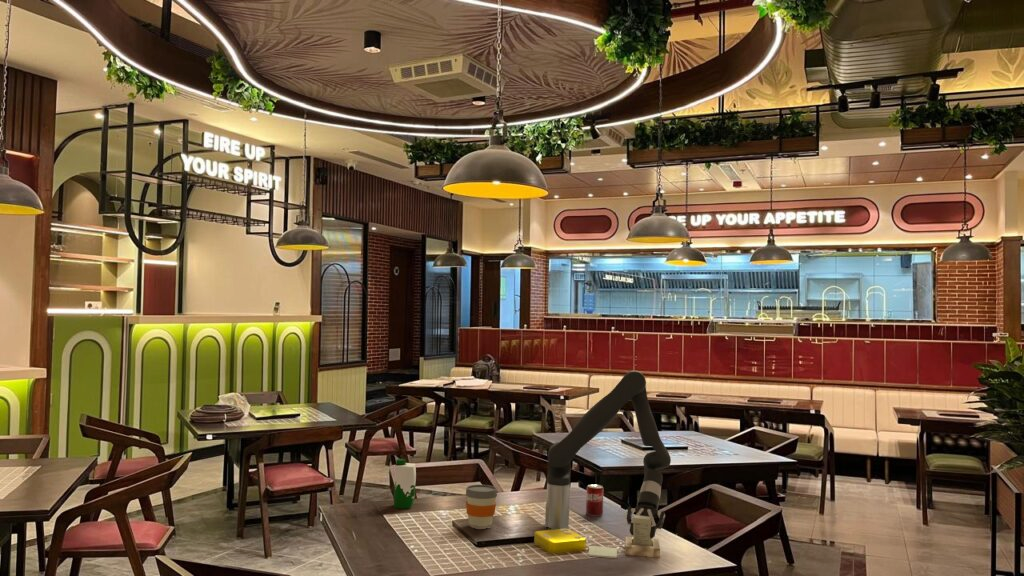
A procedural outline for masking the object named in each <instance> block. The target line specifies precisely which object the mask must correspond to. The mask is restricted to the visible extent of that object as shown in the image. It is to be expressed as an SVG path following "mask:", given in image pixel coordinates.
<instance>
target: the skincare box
mask: <svg viewBox="0 0 1024 576" xmlns="http://www.w3.org/2000/svg"><path fill="white" fill-rule="evenodd" d="M632 517H633V518H632V520H633V535H632V537H633V545H640V546H652V539H653V538H650V531H651V526H652V523H651V519H652V517H649V516H639V515H636V514H635V515H634V516H632Z"/></svg>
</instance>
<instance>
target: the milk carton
mask: <svg viewBox="0 0 1024 576" xmlns="http://www.w3.org/2000/svg"><path fill="white" fill-rule="evenodd" d="M416 465H417V464H416V463H412V462H411V463H410V462H406V458H397V459H396V463H395V466H394V478H393V479H394V481H393V482H394V483H393V508H394V509H407V510H408V509H411V508H412V507H413V505H414V501H415V496H416V479H417V472H416V471H417V469H416V468H417V466H416Z"/></svg>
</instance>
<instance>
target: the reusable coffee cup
mask: <svg viewBox="0 0 1024 576" xmlns="http://www.w3.org/2000/svg"><path fill="white" fill-rule="evenodd" d="M465 496H466V501H465V506H466V507H465V509H466V514H467V519H468V520H467V521H468V525H469V524H471V525H477V526H487V525H491V524H493V519H494V518H493V517H494V516H495V512H496V505H497V501H496V500H497V497H498V490H497V487H496V486H493V485H489V484H471V485H468V486H466V489H465Z"/></svg>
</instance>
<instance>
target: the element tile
mask: <svg viewBox="0 0 1024 576" xmlns="http://www.w3.org/2000/svg"><path fill="white" fill-rule="evenodd" d="M533 542H534V545H536V546H537V547H539V548H541V549H542V550H544V551H546V552H547V553H549V554H564V553H573V551H574V552H582V551H585V550H586V547H587V545H586V544H587V539H586V537H584V536H582V535H581V534H579V533H578V532H575V531H573V530H571V529H569V528H565V529H545V530H544V529H543V530H536V531H535V532H534V540H533Z"/></svg>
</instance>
